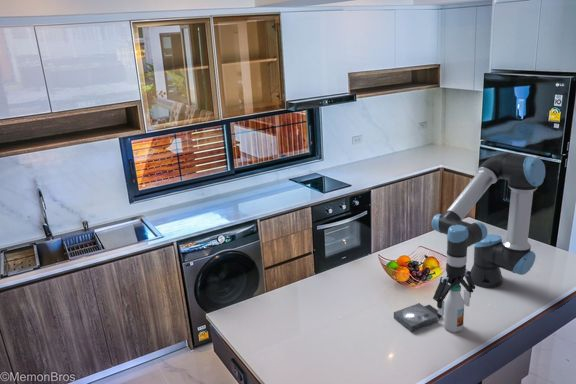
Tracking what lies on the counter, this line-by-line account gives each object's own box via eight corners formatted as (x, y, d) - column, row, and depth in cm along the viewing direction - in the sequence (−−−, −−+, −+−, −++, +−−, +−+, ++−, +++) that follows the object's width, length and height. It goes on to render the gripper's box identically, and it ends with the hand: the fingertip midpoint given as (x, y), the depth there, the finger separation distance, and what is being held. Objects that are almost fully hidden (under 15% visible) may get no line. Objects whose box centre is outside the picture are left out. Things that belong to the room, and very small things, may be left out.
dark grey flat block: (426, 306, 217) (426, 300, 216) (445, 319, 206) (445, 313, 205) (393, 318, 210) (393, 312, 209) (411, 332, 199) (411, 326, 198)
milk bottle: (450, 334, 196) (452, 291, 190) (439, 324, 203) (441, 282, 197) (466, 330, 198) (469, 287, 192) (455, 320, 205) (457, 279, 199)
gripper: (472, 252, 199) (469, 297, 206) (425, 267, 189) (423, 313, 196) (486, 259, 192) (483, 305, 199) (438, 275, 183) (436, 322, 190)
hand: (453, 309), depth 198 cm, fingers open, 13 cm apart
